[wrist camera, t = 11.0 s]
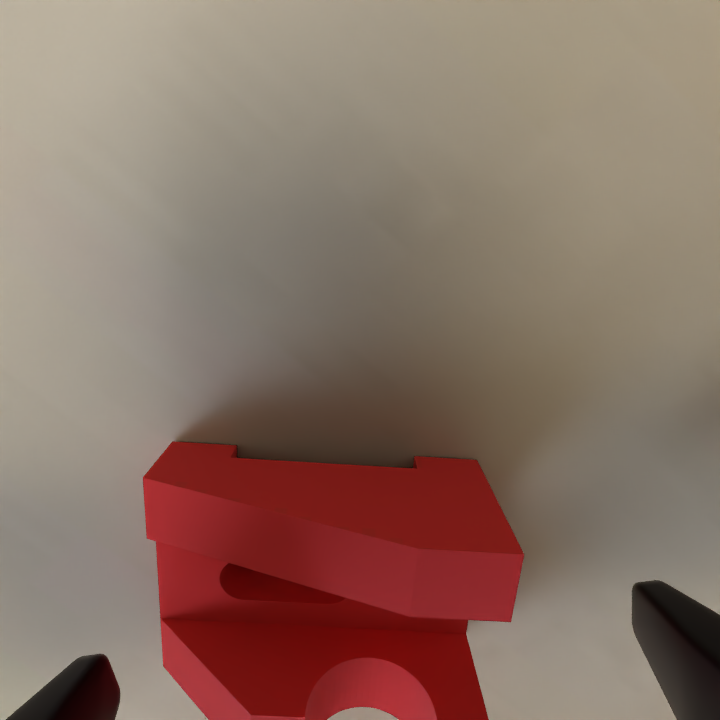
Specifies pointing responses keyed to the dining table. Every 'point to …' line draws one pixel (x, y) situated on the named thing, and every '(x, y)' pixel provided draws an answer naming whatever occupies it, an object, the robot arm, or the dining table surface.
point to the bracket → (326, 583)
